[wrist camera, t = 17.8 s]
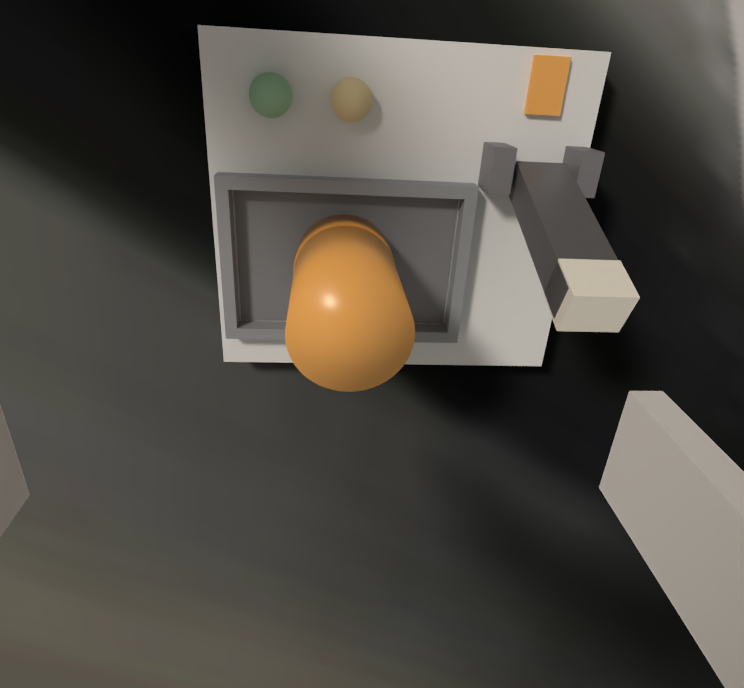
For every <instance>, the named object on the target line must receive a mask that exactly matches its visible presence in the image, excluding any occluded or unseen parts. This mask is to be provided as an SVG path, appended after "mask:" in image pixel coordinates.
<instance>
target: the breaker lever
mask: <svg viewBox="0 0 744 688" xmlns="http://www.w3.org/2000/svg"><path fill="white" fill-rule="evenodd" d="M508 195H509V194H508ZM509 198H510V200H511V203H512V206H513V209H514V211H515V214H516V217H517V219H518V222H519V225H520V228H521V230H522V233H523V236H524V239H525V241H526V244H527V247H528V250H529V252H530V255H531V258H532V260H533V263H534V266H535V269H536V271H537V274H538V277H539V280H540V282H541V285H542V288H543V291H544V293H543V295H544V297H545V300H546V303H547V306H548V308H549V311H550V314H551V317H552V319H553V322H554V325H555V328H556V330H557V331H578V332H619V331H620V329H621V328H622V326H623V324H624V323H625V321H626V320H627V318H628V316H629V315H630V313H631V311H632V310H633V308H634V307H635V305H636V303H637V302H638V300H639V299H640V297H639V295H638V293H637V291H636V289H635V287H634V285H633V283H632V282H631V280H630V278H629V276H628V274H627V272H626V270H625V268H624V266H623V265H622V263H621V261H620V260H618V259H617V257H616V255H615V254H614V252H613V250H612V248H611V246H610V244H609V242H608V240H607V238H606V236H605V235H604V233H603V231H602V229H601V227H600V225H599V223H598V221H597V219H596V217H595V216H594V214H593V212H592V210H591V208H590V206H589V204H588V202H587V200H586V198H585V196H584V195H583V193H582V191H581V189H580V187H579V185H578V183H577V181H576V179H575V177H574V176H573V174H572V172H571V170H570V168H569V166H568V164H567V163H549V162H528V161H516V163H515V167H514V173H513V179H512V185H511V191H510V195H509Z"/></svg>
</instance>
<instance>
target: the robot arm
mask: <svg viewBox="0 0 744 688" xmlns="http://www.w3.org/2000/svg"><path fill="white" fill-rule="evenodd" d="M599 488H600V490H601V492H602V493H603V495H604V496H605V498H606V500H607V501H608V503H609V504H610V506H611V508H612V509H613V511H614V512H615V514H616V515H617V517H618V519H619V520H620V522H621V523H622V525H623V527H624V528H625V530H626V531H627V533H628V535H629V536H630V538H631V539H632V541H633V543H634V544H635V546H636V547H637V549H638V550H639V552H640V554H641V555H642V557H643V558H644V560H645V562H646V563H647V565H648V566H649V568H650V570H651V571H652V573H653V574H654V576H655V578H656V579H657V581H658V582H659V584H660V585H661V587H662V589H663V590H664V592H665V593H666V595H667V597H668V598H669V600H670V601H671V603H672V605H673V606H674V608H675V609H676V611H677V613H678V614H679V616H680V617H681V619H682V620H683V622H684V624H685V625H686V627H687V628H688V630H689V632H690V633H691V635H692V636H693V638H694V640H695V641H696V643H697V644H698V646H699V648H700V649H701V651H702V652H703V654H704V655H705V657H706V659H707V660H708V662H709V663H710V665H711V667H712V668H713V670H714V671H715V673H716V675H717V676H718V678H719V679H720V681H721V683H722V684H723V686H724V687H725V688H744V472H743V471H742V470H741V469H740V468H739V467H738V466H737V465H736V464H735V463H734V462H733V461H732V460H731V459H730V458H729V457H728V456H727V455H726V454H725V453H724V452H723V451H722V450H721V449H720V448H719V447H718V446H717V445H716V444H715V443H714V442H713V441H712V440H711V439H710V438H709V437H708V436H707V435H706V434H705V433H704V432H703V431H702V430H701V429H700V428H699V427H698V426H697V425H696V424H695V423H694V422H693V421H692V420H691V419H690V418H689V417H688V416H687V415H686V414H685V413H684V412H683V411H682V410H681V409H680V408H679V407H678V406H677V405H676V404H675V403H674V402H673V401H672V400H671V399H670V398H669V397H668V396H667V395H666V394H665V393H664V392H663V391H629V393H628V396H627V400H626V403H625V406H624V409H623V412H622V416H621V419H620V422H619V425H618V428H617V432H616V435H615V438H614V441H613V444H612V448H611V451H610V454H609V457H608V460H607V464H606V467H605V470H604V473H603V476H602V480H601V483H600V486H599ZM29 495H30V494H29V491H28V488H27V484H26V481H25V478H24V475H23V472H22V469H21V466H20V463H19V460H18V457H17V454H16V451H15V447H14V444H13V441H12V438H11V435H10V432H9V429H8V426H7V423H6V420H5V417H4V414H3V410H2V407H1V404H0V537H1V536H2V534H3V533H4V531H5V530H6V528H7V527H8V526H9V524H10V523H11V521H12V520H13V518H14V517H15V515H16V514H17V513H18V511H19V510H20V508H21V507H22V505H23V504H24V502H25V501H26V500H27V498H28V497H29Z"/></svg>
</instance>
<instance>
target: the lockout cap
mask: <svg viewBox="0 0 744 688" xmlns="http://www.w3.org/2000/svg"><path fill="white" fill-rule="evenodd" d="M414 340H415V324H414V320H413V316H412V313H411V310H410V307H409V304H408V301H407V298H406V295H405V292H404V289H403V287H402V284H401V281H400V278H399V275H398V272H397V269H396V265H395V261H394V257H393V254H392V252H391V249H390V247H389V245H388V243H387V241H386V239H385V237H384V236H383V234H382V233H381V232H380V230H379V229H378V228H377V227H375V226H374V225H373V224H372V223H370V222H369V221H367V220H365V219H363V218H360V217H357V216H353V215H346V214H345V215H334V216H330V217H326V218H324V219H322V220H320V221H318V222H317V223H315V224H314V225H313V226H311V227H310V228H309V229H308V230H307V231H306V233H305V234H304V236H303V237H302V239H301V241H300V243H299V246H298V249H297V252H296V255H295V260H294V266H293V280H292V287H291V293H290V300H289V307H288V313H287V320H286V327H285V342H286V347H287V351H288V353H289V356H290V358H291V360H292V361H293V363H294V365H295V366H296V367H297V369H298V370H299V371H300V372H301V373H302V374H303V375H304V376H305V377H307V378H308V379H309V380H311V381H313V382H314V383H316V384H318V385H320V386H322V387H325V388H328V389H332V390H337V391H346V392H351V391H361V390H366V389H370V388H373V387H375V386H378V385H380V384H382V383H384V382H386V381H387V380H389V379H390V378H391V377H393V376H394V375H395V374H396V373H397V372H398V371H399V370H400V369H401V368H402V367H403V366H404V364H405V363H406V361H407V360H408V358H409V356H410V354H411V351H412V348H413V345H414Z"/></svg>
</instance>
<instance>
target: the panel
mask: <svg viewBox="0 0 744 688" xmlns="http://www.w3.org/2000/svg"><path fill="white" fill-rule="evenodd" d="M197 26H198V38H199V51H200V64H201V77H202V89H203V102H204V115H205V127H206V140H207V153H208V166H209V178H210V191H211V204H212V217H213V229H214V242H215V255H216V267H217V280H218V293H219V306H220V318H221V331H222V344H223V357H224V362H281V363H293V361H292V360H291V358H290V356H289V353H288V351H287V347H286V342H285V327H286V320H287V313H288V307H289V300H290V293H291V287H292V280H293V266H294V260H295V255H296V252H297V249H298V246H299V243H300V241H301V239H302V237H303V236H304V234H305V233H306V231H307V230H308V229H309V228H310V227H311V226H313V225H314V224H315V223H317V222H318V221H320V220H322V219H324V218H326V217H330V216H334V215H345V214H346V215H353V216H357V217H360V218H363V219H365V220H367V221H369V222H370V223H372V224H373V225H374V226H375V227H377V228H378V229H379V230H380V232H381V233H382V234H383V236H384V237H385V239H386V241H387V243H388V245H389V247H390V249H391V252H392V254H393V257H394V261H395V265H396V269H397V272H398V275H399V278H400V281H401V284H402V287H403V289H404V292H405V295H406V298H407V301H408V304H409V307H410V310H411V313H412V316H413V320H414V324H415V340H414V345H413V348H412V351H411V354H410V356H409V358H408V360H407V361H406V363H405V364H421V365H491V366H542V361H543V357H544V352H545V348H546V344H547V339H548V335H549V330H550V326H551V321H552V317H551V314H550V311H549V308H548V306H547V303H546V300H545V297H544V295H543V293H544V291H543V288H542V285H541V282H540V280H539V277H538V274H537V271H536V269H535V266H534V263H533V260H532V258H531V255H530V252H529V250H528V247H527V244H526V241H525V239H524V236H523V233H522V230H521V228H520V225H519V222H518V219H517V217H516V214H515V211H514V209H513V206H512V203H511V200H510V198H509V195H510V191H511V185H512V179H513V173H514V167H515V163H516V161H528V162H549V163H567V164H568V166H569V168H570V170H571V172H572V174H573V176H574V177H575V179H576V181H577V183H578V185H579V187H580V189H581V191H582V193H583V195H584V196H585V198H595V193H596V189H597V185H598V181H599V176H600V172H601V168H602V164H603V159H604V155H605V152H602V151H598V150H595V149H592V148H590V146H591V141H592V137H593V132H594V128H595V123H596V119H597V114H598V110H599V105H600V101H601V96H602V92H603V87H604V83H605V78H606V74H607V69H608V65H609V60H610V56H611V52H600V51H585V50H570V49H555V48H540V47H524V46H509V45H494V44H479V43H464V42H449V41H434V40H418V39H403V38H388V37H373V36H358V35H343V34H328V33H312V32H297V31H282V30H267V29H252V28H237V27H222V26H207V25H197ZM508 194H509V195H508Z"/></svg>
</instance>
